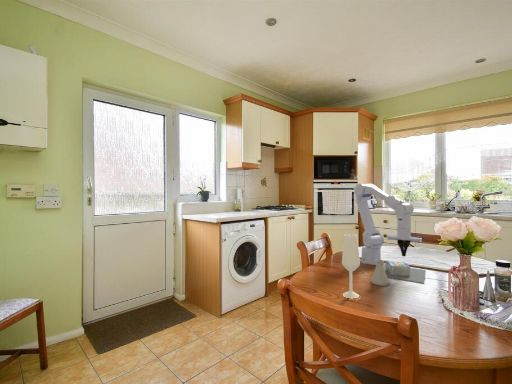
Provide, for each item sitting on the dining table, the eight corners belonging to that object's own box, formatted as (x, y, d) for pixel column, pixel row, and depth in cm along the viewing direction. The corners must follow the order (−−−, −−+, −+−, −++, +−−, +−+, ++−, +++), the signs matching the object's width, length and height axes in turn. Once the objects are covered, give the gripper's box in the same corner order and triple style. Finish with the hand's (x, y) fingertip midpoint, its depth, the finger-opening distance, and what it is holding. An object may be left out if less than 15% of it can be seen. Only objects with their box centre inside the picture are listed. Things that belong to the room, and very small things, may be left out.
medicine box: (410, 266, 121) (390, 265, 123) (410, 276, 121) (390, 275, 123) (404, 261, 129) (385, 260, 130) (404, 270, 129) (385, 269, 131)
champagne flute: (345, 290, 107) (345, 232, 106) (362, 295, 103) (362, 234, 102) (339, 296, 102) (338, 235, 101) (356, 301, 97) (356, 237, 97)
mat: (378, 276, 123) (378, 275, 123) (385, 264, 139) (385, 264, 139) (423, 283, 113) (424, 282, 113) (425, 270, 129) (425, 269, 129)
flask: (381, 287, 110) (381, 264, 109) (367, 282, 116) (367, 259, 116) (392, 284, 113) (392, 261, 113) (378, 279, 119) (377, 257, 119)
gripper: (386, 227, 127) (386, 255, 127) (421, 230, 119) (421, 260, 119) (388, 225, 133) (388, 252, 133) (421, 228, 124) (421, 256, 125)
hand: (403, 255), depth 126 cm, fingers closed
